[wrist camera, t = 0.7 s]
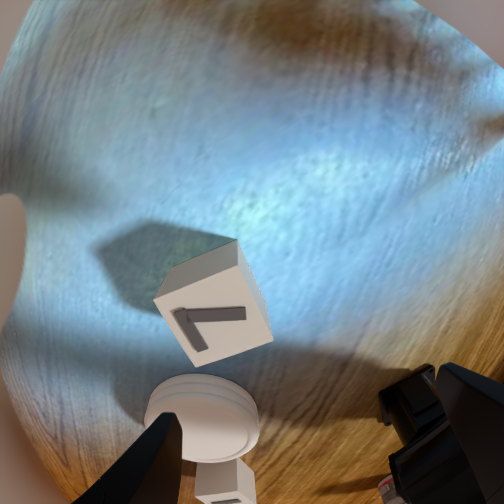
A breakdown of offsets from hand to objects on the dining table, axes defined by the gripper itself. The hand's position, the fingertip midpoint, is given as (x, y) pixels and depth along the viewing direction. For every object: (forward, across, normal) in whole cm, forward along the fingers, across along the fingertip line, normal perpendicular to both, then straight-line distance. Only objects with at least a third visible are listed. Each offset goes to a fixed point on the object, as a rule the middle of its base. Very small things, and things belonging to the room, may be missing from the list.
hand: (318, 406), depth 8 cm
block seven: (+13, +4, +1) cm, 13 cm away
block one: (+13, +8, +25) cm, 29 cm away
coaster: (+13, +8, +13) cm, 20 cm away
